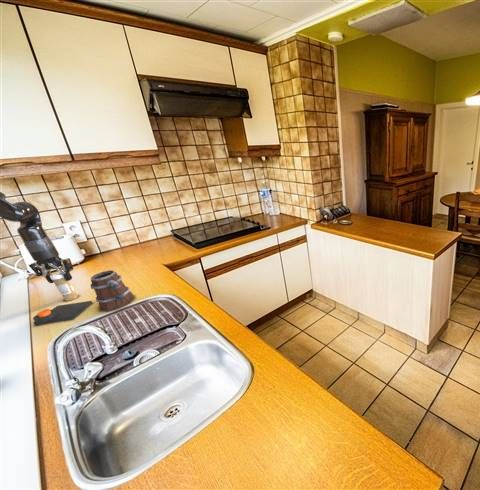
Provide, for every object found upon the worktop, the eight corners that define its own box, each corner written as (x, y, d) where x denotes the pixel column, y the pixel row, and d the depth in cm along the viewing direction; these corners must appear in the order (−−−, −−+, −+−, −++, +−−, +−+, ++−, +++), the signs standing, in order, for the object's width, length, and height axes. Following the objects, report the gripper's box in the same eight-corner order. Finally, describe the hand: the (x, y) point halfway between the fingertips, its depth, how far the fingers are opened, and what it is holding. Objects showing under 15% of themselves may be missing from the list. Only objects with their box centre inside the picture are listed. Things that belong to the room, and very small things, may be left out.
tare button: (36, 318, 108) (33, 315, 107) (43, 313, 111) (41, 309, 110) (46, 317, 108) (44, 313, 108) (54, 311, 112) (52, 308, 111)
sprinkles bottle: (80, 294, 128) (66, 270, 123) (73, 300, 124) (58, 275, 119) (69, 296, 127) (54, 272, 122) (61, 302, 123) (46, 277, 118)
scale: (32, 326, 107) (28, 320, 106) (57, 308, 118) (53, 302, 117) (71, 320, 110) (68, 314, 109) (92, 303, 121) (89, 297, 120)
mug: (95, 307, 118) (78, 278, 112) (127, 293, 127) (113, 265, 121) (112, 316, 111) (95, 286, 105) (144, 300, 121) (131, 272, 115)
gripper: (67, 242, 120) (85, 274, 127) (29, 247, 117) (49, 279, 124) (54, 249, 113) (73, 282, 120) (12, 253, 110) (35, 288, 117)
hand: (61, 281), depth 122 cm, fingers open, 5 cm apart
